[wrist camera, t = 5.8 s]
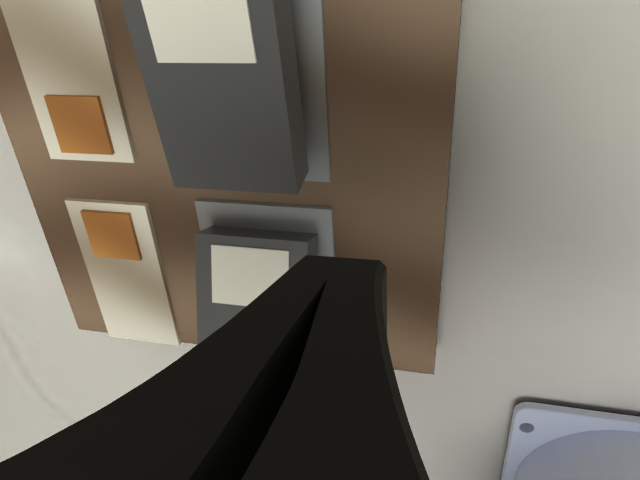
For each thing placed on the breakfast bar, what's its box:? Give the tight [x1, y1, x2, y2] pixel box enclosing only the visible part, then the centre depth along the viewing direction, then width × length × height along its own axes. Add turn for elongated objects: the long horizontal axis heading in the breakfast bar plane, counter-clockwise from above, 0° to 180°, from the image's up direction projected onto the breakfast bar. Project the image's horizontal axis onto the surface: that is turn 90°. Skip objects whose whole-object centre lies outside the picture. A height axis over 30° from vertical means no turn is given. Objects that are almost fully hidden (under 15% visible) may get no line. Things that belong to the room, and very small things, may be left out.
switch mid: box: [120, 0, 309, 195], centre depth 13 cm, size 6×4×1 cm, turn 3°
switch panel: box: [0, 0, 462, 374], centre depth 15 cm, size 22×14×2 cm, turn 3°
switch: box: [195, 226, 318, 344], centre depth 17 cm, size 6×4×1 cm, turn 3°
